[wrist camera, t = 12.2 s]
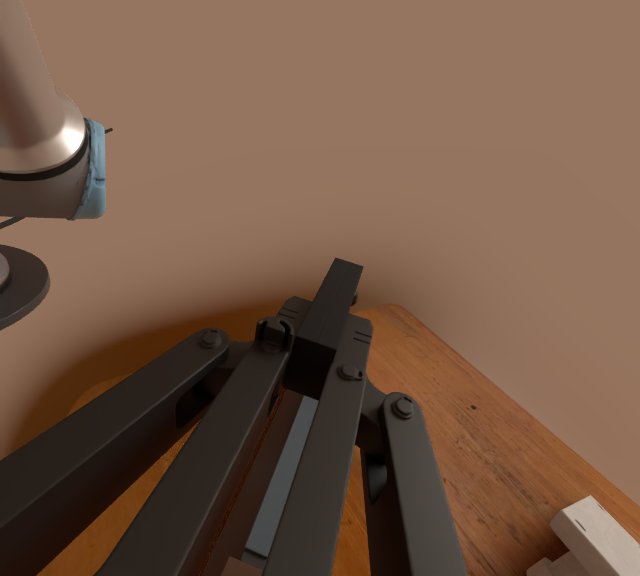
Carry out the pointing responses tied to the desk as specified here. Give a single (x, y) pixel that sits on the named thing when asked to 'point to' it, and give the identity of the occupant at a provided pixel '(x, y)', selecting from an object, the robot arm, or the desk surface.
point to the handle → (590, 544)
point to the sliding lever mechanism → (263, 492)
